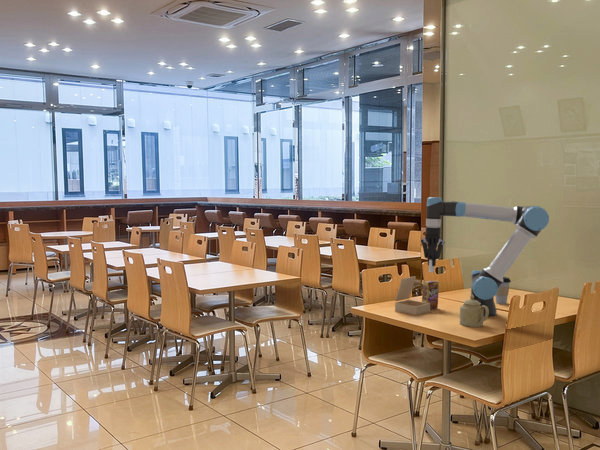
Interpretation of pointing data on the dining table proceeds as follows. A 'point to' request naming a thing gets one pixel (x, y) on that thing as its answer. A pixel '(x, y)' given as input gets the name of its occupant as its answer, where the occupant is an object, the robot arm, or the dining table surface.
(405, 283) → the lid
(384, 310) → the dining table surface
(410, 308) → the box
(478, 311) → the grey round pot
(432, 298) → the candy box
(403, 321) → the dining table surface
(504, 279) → the coffee cup
